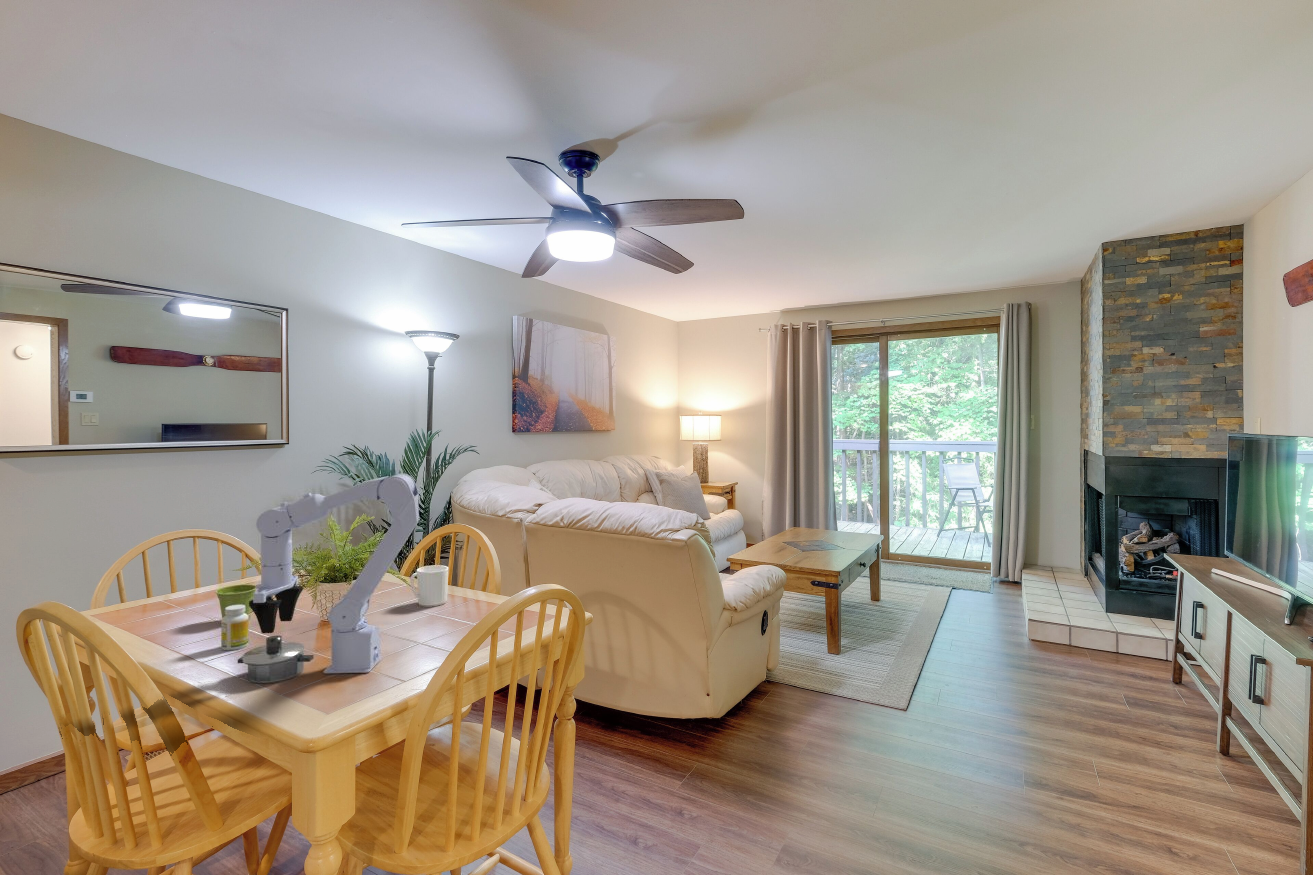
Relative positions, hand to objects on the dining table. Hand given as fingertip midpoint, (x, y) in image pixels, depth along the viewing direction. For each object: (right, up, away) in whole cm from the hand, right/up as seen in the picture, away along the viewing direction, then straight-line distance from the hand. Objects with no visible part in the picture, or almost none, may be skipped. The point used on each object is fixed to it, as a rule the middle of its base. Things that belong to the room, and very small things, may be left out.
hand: (277, 626), depth 132 cm
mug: (+14, -9, +51) cm, 53 cm away
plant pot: (-32, -9, +34) cm, 47 cm away
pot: (0, -10, -1) cm, 10 cm away
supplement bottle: (-19, -10, +15) cm, 26 cm away
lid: (0, -7, -1) cm, 7 cm away
